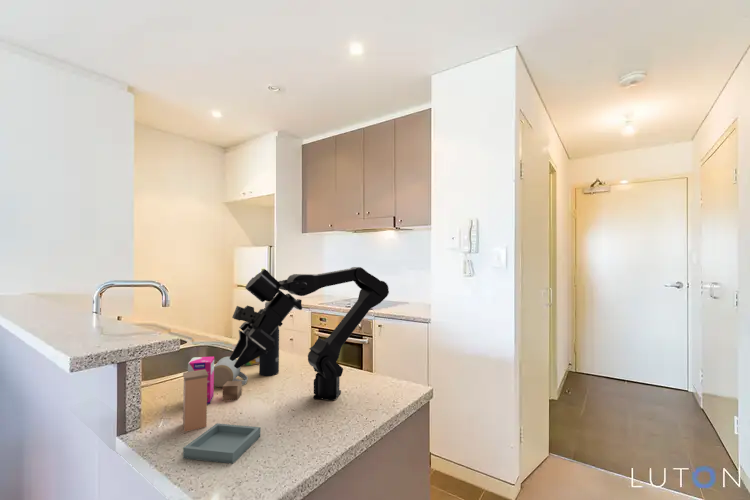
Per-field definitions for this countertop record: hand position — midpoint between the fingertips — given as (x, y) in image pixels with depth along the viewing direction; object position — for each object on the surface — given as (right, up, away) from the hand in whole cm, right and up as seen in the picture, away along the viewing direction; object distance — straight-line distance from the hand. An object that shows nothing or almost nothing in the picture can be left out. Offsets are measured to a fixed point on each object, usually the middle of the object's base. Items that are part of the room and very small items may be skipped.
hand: (233, 363), depth 88 cm
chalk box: (-11, -15, +47) cm, 51 cm away
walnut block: (-5, -14, +12) cm, 19 cm away
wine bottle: (-1, -14, +33) cm, 36 cm away
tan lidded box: (-7, -13, -5) cm, 15 cm away
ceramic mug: (-10, -14, +23) cm, 29 cm away
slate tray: (+4, -13, -15) cm, 20 cm away
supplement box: (-13, -14, +9) cm, 21 cm away
